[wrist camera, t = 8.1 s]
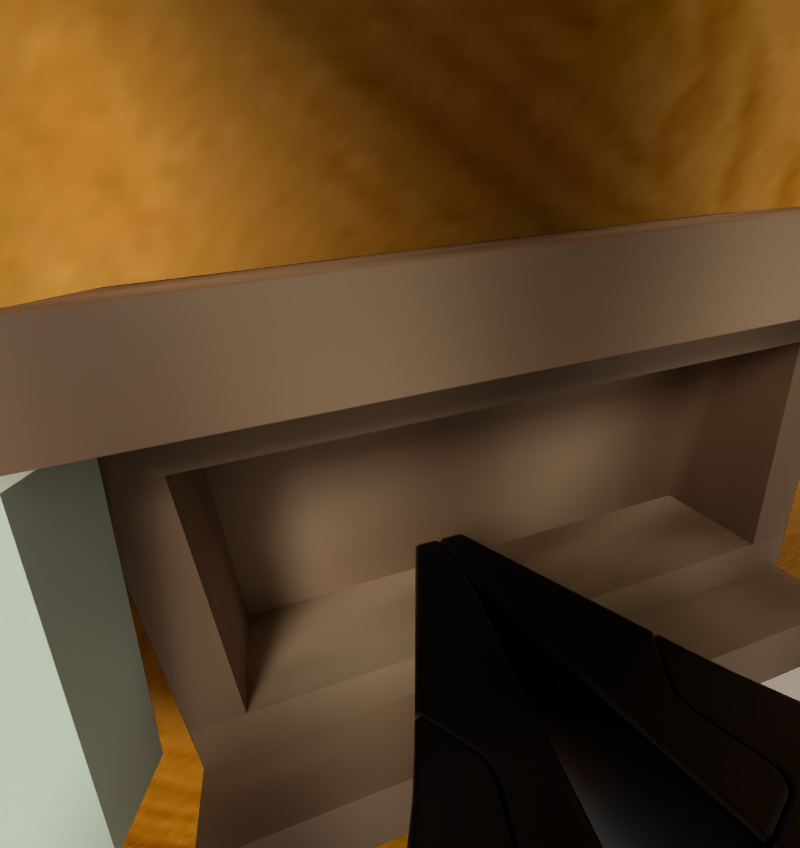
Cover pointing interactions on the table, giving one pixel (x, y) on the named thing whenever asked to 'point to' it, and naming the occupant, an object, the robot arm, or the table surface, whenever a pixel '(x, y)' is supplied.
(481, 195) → the table surface
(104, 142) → the table surface
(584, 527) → the walnut box
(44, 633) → the lid
